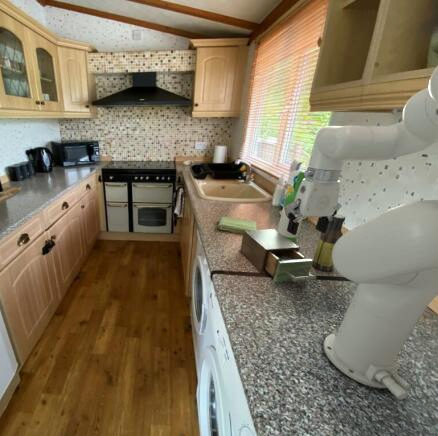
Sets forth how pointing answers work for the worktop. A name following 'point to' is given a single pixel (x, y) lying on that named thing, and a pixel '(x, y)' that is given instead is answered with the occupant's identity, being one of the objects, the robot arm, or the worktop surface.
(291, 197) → the wine bottle
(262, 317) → the worktop surface
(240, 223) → the washcloth
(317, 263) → the sauce bottle
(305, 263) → the drawer
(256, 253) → the cabinet
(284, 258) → the cap
